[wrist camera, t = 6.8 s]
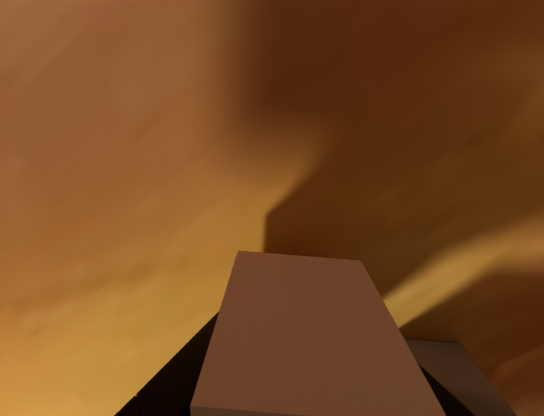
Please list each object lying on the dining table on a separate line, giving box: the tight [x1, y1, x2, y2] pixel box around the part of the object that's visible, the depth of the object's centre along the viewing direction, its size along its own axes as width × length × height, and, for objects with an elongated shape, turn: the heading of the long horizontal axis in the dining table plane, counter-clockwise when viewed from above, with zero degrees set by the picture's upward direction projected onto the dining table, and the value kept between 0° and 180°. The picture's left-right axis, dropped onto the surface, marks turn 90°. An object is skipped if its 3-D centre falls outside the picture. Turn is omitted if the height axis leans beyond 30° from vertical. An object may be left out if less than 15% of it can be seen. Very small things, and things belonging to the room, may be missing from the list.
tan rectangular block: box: [190, 251, 446, 416], centre depth 7 cm, size 4×4×5 cm
